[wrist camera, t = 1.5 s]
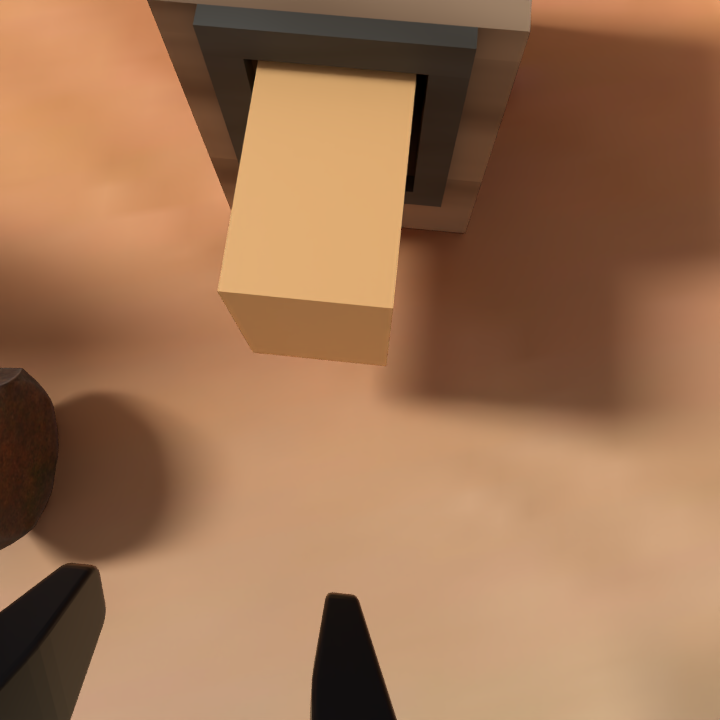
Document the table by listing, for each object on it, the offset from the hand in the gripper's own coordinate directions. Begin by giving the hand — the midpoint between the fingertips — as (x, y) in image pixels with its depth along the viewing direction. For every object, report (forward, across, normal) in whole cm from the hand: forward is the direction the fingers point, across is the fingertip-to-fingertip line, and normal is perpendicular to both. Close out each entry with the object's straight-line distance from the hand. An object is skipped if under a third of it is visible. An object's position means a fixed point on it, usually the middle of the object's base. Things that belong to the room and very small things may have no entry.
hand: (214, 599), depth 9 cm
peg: (+14, 0, -1) cm, 14 cm away
